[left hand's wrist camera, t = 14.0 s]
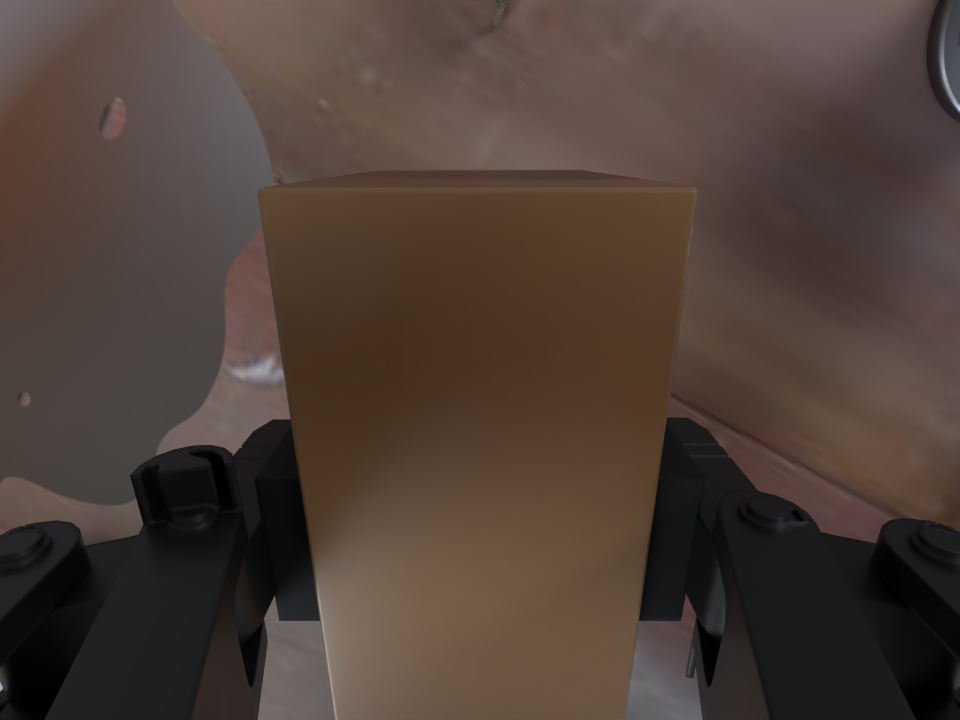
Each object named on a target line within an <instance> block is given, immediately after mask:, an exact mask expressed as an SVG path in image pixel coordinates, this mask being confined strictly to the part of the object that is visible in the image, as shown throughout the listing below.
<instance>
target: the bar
mask: <svg viewBox="0 0 960 720" xmlns="http://www.w3.org/2000/svg"><path fill="white" fill-rule="evenodd" d="M697 195H698V193H697V189H696V188H695V187H692V186H687V185H680V184H673V183H667V182H660V181H653V180H646V179H639V178H632V177H625V176H618V175H611V174H604V173H597V172H591V171H584V170H399V171H371V172H365V173H358V174H351V175H344V176H338V177H331V178H324V179H317V180H311V181H304V182H297V183H290V184H284V185H277V186H270V187H264V188H262V189H259V191H258V199H259V206H260V213H261V220H262V227H263V234H264V240H265V247H266V254H267V261H268V268H269V275H270V281H271V288H272V295H273V302H274V309H275V316H276V322H277V329H278V336H279V343H280V350H281V357H282V363H283V370H284V377H285V384H286V391H287V398H288V404H289V411H290V418H291V425H292V432H293V439H294V445H295V452H296V459H297V466H298V473H299V479H300V486H301V493H302V500H303V507H304V514H305V520H306V527H307V534H308V541H309V548H310V555H311V561H312V568H313V575H314V582H315V589H316V596H317V602H318V609H319V616H320V623H321V630H322V637H323V643H324V650H325V657H326V664H327V671H328V678H329V684H330V691H331V698H332V705H333V712H334V718H335V720H625V717H626V710H627V702H628V695H629V688H630V681H631V673H632V666H633V659H634V652H635V644H636V637H637V630H638V623H639V615H640V608H641V601H642V594H643V586H644V579H645V572H646V565H647V557H648V550H649V543H650V536H651V528H652V521H653V514H654V507H655V499H656V492H657V485H658V478H659V470H660V463H661V456H662V449H663V441H664V434H665V427H666V420H667V413H668V405H669V398H670V391H671V384H672V376H673V369H674V362H675V355H676V347H677V340H678V333H679V326H680V318H681V311H682V304H683V297H684V289H685V282H686V275H687V268H688V260H689V253H690V246H691V239H692V231H693V224H694V217H695V210H696V202H697Z"/></svg>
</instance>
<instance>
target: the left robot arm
mask: <svg viewBox="0 0 960 720" xmlns="http://www.w3.org/2000/svg"><path fill="white" fill-rule="evenodd" d="M927 66H928V74H929V79H930V83H931V86H932V89H933V91H934V94H935V96H936V98H937V99H938V101H939V103H940V104H941V106H942V107H943V108H944V109H945V111H946V112H947V113H948V114H949V115H950V116H952V117H953V118H954V119H956V120H957V121H958V122H960V0H939V3H938V5H937V8H936V11H935V13H934V16H933V20H932V24H931V27H930V32H929V38H928V46H927ZM130 477H131V480H132V484H133V488H134V491H135V495H136V499H137V502H138V506H139V510H140V513H141V517H142V520H143V524H144V525H143V527H142V529H141V531H140V533H139V535H135V536H131V537H127V538H122V539H117V540H112V541H107V542H102V543H97V544H92V545H87V546H85V544H84V541H83V538H82V535H81V532H80V529H79V528H78V527H76V526H75V525H74V524H73V523H71V522H64V521H48V522H40V523H32V524H28V525H25V526H24V527H23V526H20V527H17V528H14V529H11V530H9V531H8V532H6V533H4V534H2V535H0V683H1V685H2V687H3V689H2V690H1V691H0V720H258V712H259V704H260V697H261V689H262V681H263V674H264V666H265V658H266V651H267V643H268V640H267V633H266V627H265V621H264V617H265V615H266V613H267V610H268V608H269V606H270V604H271V602H272V600H273V598H274V595H275V598H276V604H277V609H278V615H279V621H320V616H319V609H318V602H317V596H316V589H315V582H314V575H313V568H312V561H311V555H310V548H309V541H308V534H307V527H306V520H305V514H304V507H303V500H302V493H301V486H300V479H299V473H298V466H297V459H296V452H295V445H294V439H293V432H292V425H291V420H272V421H270V422H268V423H267V424H265V425H263V426H262V427H260V428H258V429H257V430H255V431H253V433H252V434H251V435H250V436H249V437H248V439H247V440H246V441H245V442H244V444H243V445H242V448H239V450H238V451H237V452H236V453H235V455H234V456H233V455H232V453H231V452H229V451H228V450H227V449H225V448H223V447H218V446H213V445H196V446H189V447H184V448H179V449H174V450H171V451H169V452H166V453H163V454H160V455H158V456H155V457H153V458H152V459H150V460H148V461H146V462H145V463H143V464H141V465H140V466H139V467H138V468H137V469H136V470H135V471H134V472H133V473H132V474H131V475H130ZM686 594H687V596H688V598H689V600H690V603H691V605H692V607H693V609H694V611H695V613H696V615H697V616H696V621H695V627H694V632H693V637H692V642H691V648H690V653H689V658H688V663H687V670H686V677H690V678H693V676H694V671H695V666H696V672H697V680H698V688H699V695H700V703H701V711H702V718H703V720H960V687H959V684H960V532H958V531H956V530H955V529H953V528H951V527H949V526H946V525H943V524H940V523H939V524H936V522H932V521H927V520H917V519H909V518H902V519H895V520H889V521H888V522H887V523H886V524H884V525H883V526H882V527H881V530H880V533H879V536H878V539H877V543H871V542H866V541H861V540H856V539H850V538H845V537H840V536H835V535H831V534H827V533H823V532H820V530H819V528H818V526H817V524H816V523H815V521H814V520H813V519H812V518H811V517H810V515H809V514H808V513H807V512H806V511H804V510H803V509H801V508H800V507H798V506H797V505H795V504H794V503H792V502H790V501H788V500H785V499H783V498H780V497H778V496H776V495H772V494H768V493H764V492H759V491H758V490H757V489H756V488H755V487H754V485H753V484H752V483H751V482H750V481H749V479H748V478H747V477H746V476H745V475H744V473H743V472H742V471H741V470H740V469H739V467H738V466H737V465H736V464H735V463H734V461H733V460H732V459H731V458H728V454H727V453H726V452H725V450H724V449H723V448H722V447H721V446H719V443H718V442H717V441H716V440H715V438H714V437H713V436H712V435H711V434H710V432H709V431H708V430H707V429H705V428H704V427H702V426H700V425H699V424H697V423H695V422H694V421H692V420H690V419H689V418H667V420H666V427H665V434H664V441H663V449H662V456H661V463H660V470H659V478H658V485H657V492H656V499H655V507H654V514H653V521H652V528H651V536H650V543H649V550H648V557H647V565H646V572H645V579H644V586H643V594H642V601H641V608H640V615H639V621H681V617H682V611H683V606H684V600H685V595H686Z"/></svg>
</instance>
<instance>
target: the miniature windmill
mask: <svg viewBox="0 0 960 720" xmlns="http://www.w3.org/2000/svg"><path fill="white" fill-rule="evenodd" d="M493 1H494V2H495V4H496V7H495V14H494V21H493V24H494V25H495V27H496V28H497V27H498V26H499V25H500V24H502V22H503V16H504V10H505V4H506V3H507V2H508V1H509V0H493Z"/></svg>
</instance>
